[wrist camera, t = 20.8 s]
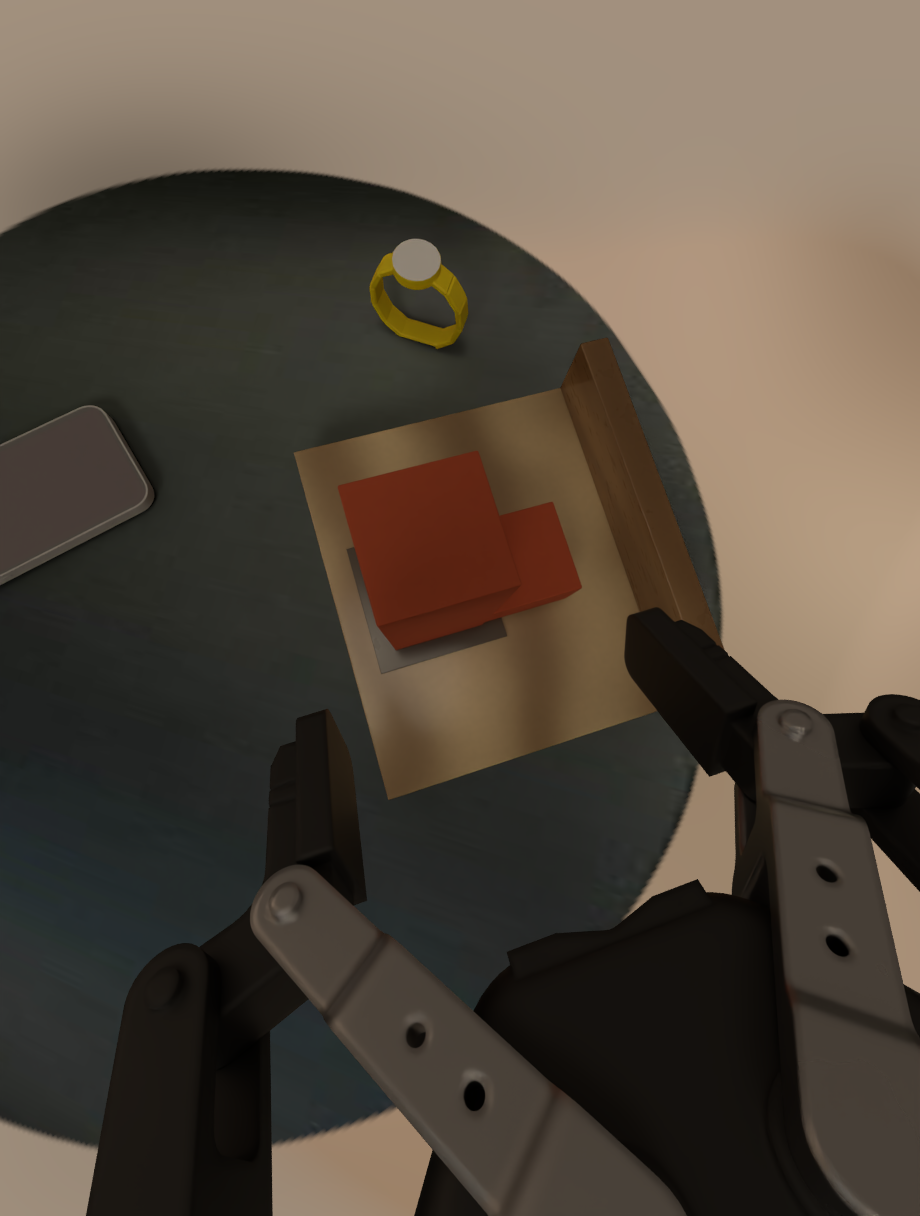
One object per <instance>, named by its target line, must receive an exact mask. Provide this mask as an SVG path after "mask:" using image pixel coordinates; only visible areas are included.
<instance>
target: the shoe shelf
mask: <svg viewBox="0 0 920 1216" xmlns="http://www.w3.org/2000/svg"><path fill="white" fill-rule="evenodd" d="M473 451H478V452H479V454H480V457H481V460H482V464H483V467H484V470H485V473H486V476H487V479H488V482H489V485H490V488H491V491H492V494H493V497H494V500H495V503H496V507H497V510H498V513H499V516H500V515H504V514H508V513H511V512H515V511H519V510H522V509H526V508H530V507H533V506H537V505H541V504H545V503H548V502H553V503H554V506H555V509H556V512H557V515H558V518H559V521H560V523H561V526H562V529H563V532H564V535H565V538H566V541H567V544H568V547H569V550H570V553H571V556H572V559H573V562H574V564H575V567H576V570H577V573H578V576H579V579H580V582H581V585H582V588H581V589H580V590H578V591H577V592H575V593H573V594H572V595H570V596H568V597H567V598H565V599H561V600H558V601H555V602H551V603H548V604H545V605H541V606H538V607H534V608H531V609H528V610H524V611H521V612H517V613H514V614H511V615H507V616H504V617H501V618H497V619H494V620H490V621H487V622H484V623H483V624H482V625H480V626H477V627H473V628H470V629H466V630H463V631H460V632H456V633H453V634H450V635H446V636H443V637H439V638H436V639H433V640H429V641H426V642H423V643H419V644H416V645H412V646H409V647H406V648H402V649H399V650H395V649H394V647H393V646H392V645H391V643H390V642H389V641H388V640H387V638H386V637H385V636H384V634H383V633H382V632H381V631H380V629H379V628H378V627H377V625H376V622H375V618H374V615H373V611H372V608H371V604H370V601H369V597H368V594H367V590H366V587H365V583H364V579H363V576H362V572H361V569H360V565H359V562H358V558H357V555H356V551H355V548H354V544H353V540H352V537H351V533H350V530H349V526H348V523H347V519H346V516H345V512H344V509H343V505H342V502H341V498H340V494H339V491H338V486H339V485H342V484H346V483H350V482H354V481H358V480H362V479H366V478H370V477H374V476H378V475H382V474H386V473H390V472H394V471H397V470H401V469H405V468H409V467H413V466H417V465H421V464H425V463H429V462H433V461H437V460H441V459H445V458H449V457H453V456H457V455H461V454H465V453H469V452H473ZM294 455H295V459H296V462H297V466H298V470H299V473H300V477H301V481H302V484H303V488H304V492H305V495H306V499H307V503H308V506H309V510H310V514H311V517H312V521H313V525H314V528H315V532H316V536H317V539H318V543H319V547H320V550H321V554H322V558H323V561H324V565H325V569H326V572H327V576H328V580H329V583H330V587H331V591H332V594H333V598H334V602H335V605H336V609H337V613H338V616H339V620H340V624H341V627H342V631H343V635H344V638H345V642H346V646H347V649H348V653H349V657H350V660H351V664H352V668H353V671H354V675H355V679H356V682H357V686H358V690H359V693H360V697H361V701H362V704H363V708H364V712H365V715H366V719H367V723H368V726H369V730H370V734H371V737H372V741H373V745H374V748H375V752H376V756H377V759H378V763H379V767H380V770H381V774H382V778H383V781H384V785H385V789H386V792H387V796H388V799H389V800H390V799H393V798H396V797H399V796H402V795H405V794H408V793H411V792H414V791H417V790H420V789H423V788H426V787H429V786H432V785H436V784H439V783H442V782H445V781H448V780H451V779H454V778H457V777H460V776H463V775H466V774H469V773H472V772H475V771H478V770H481V769H484V768H487V767H490V766H493V765H496V764H499V763H502V762H505V761H508V760H511V759H514V758H517V757H520V756H523V755H526V754H529V753H532V752H535V751H538V750H541V749H544V748H547V747H550V746H553V745H556V744H559V743H562V742H565V741H568V740H571V739H574V738H577V737H580V736H583V735H586V734H589V733H592V732H595V731H598V730H601V729H605V728H608V727H611V726H614V725H617V724H620V723H623V722H626V721H629V720H632V719H635V718H638V717H641V716H644V715H647V714H650V713H653V712H656V711H657V710H656V708H655V707H654V706H653V705H652V703H651V702H650V701H649V700H648V698H647V697H646V696H645V695H644V693H643V692H642V691H641V689H640V688H639V687H638V686H637V684H636V683H635V682H634V681H633V679H632V678H631V676H630V675H629V673H628V671H627V668H626V665H625V660H624V650H625V636H626V621H627V617H628V616H629V615H631V614H634V613H638V612H641V611H644V610H647V609H651V608H654V607H658V608H660V609H662V610H663V611H664V612H665V613H666V614H667V615H668V616H669V617H670V618H671V619H672V620H673V621H674V622H676V621H679V620H683V621H686V622H688V623H690V624H692V625H694V626H696V627H698V628H700V629H702V630H703V631H704V632H705V633H706V634H707V635H708V636H709V637H711V638H712V639H713V640H714V641H715V642H716V645H717V646H718V645H719V646H720V647H721V648H722V649H724V647H723V645H722V642H721V639H720V637H719V634H718V631H717V629H716V626H715V623H714V621H713V618H712V615H711V613H710V610H709V607H708V605H707V602H706V599H705V597H704V594H703V591H702V589H701V586H700V583H699V580H698V578H697V575H696V572H695V570H694V567H693V564H692V562H691V559H690V556H689V554H688V551H687V548H686V546H685V543H684V540H683V538H682V535H681V532H680V530H679V527H678V524H677V522H676V519H675V516H674V513H673V511H672V508H671V505H670V503H669V500H668V497H667V495H666V492H665V489H664V487H663V484H662V481H661V479H660V476H659V473H658V471H657V468H656V465H655V463H654V460H653V457H652V455H651V452H650V449H649V447H648V444H647V441H646V438H645V436H644V433H643V430H642V428H641V425H640V422H639V420H638V417H637V414H636V412H635V409H634V406H633V404H632V401H631V398H630V396H629V393H628V390H627V388H626V385H625V382H624V380H623V377H622V374H621V372H620V369H619V366H618V363H617V361H616V358H615V355H614V353H613V350H612V347H611V345H610V342H609V339H608V338H603V339H599V340H594V341H590V342H586V343H582V344H581V345H580V347H579V349H578V351H577V353H576V355H575V358H574V360H573V362H572V364H571V366H570V368H569V370H568V373H567V375H566V377H565V379H564V381H563V383H562V386H561V388H558V389H554V390H550V391H546V392H542V393H538V394H534V395H529V396H525V397H521V398H517V399H513V400H509V401H505V402H501V403H496V404H492V405H488V406H484V407H480V408H476V409H472V410H467V411H463V412H459V413H455V414H451V415H447V416H443V417H438V418H434V419H430V420H426V421H422V422H418V423H414V424H410V425H405V426H401V427H397V428H393V429H389V430H385V431H381V432H376V433H372V434H368V435H364V436H360V437H356V438H352V439H348V440H343V441H339V442H335V443H331V444H327V445H323V446H319V447H314V448H310V449H306V450H302V451H298V452H294Z"/></svg>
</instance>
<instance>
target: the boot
mask: <svg viewBox="0 0 920 1216" xmlns="http://www.w3.org/2000/svg"><path fill="white" fill-rule="evenodd" d="M338 491H339V494H340V498H341V502H342V505H343V509H344V512H345V516H346V519H347V523H348V526H349V530H350V533H351V537H352V540H353V544H354V548H355V551H356V555H357V558H358V562H359V565H360V569H361V572H362V576H363V579H364V583H365V587H366V590H367V594H368V597H369V601H370V604H371V608H372V611H373V615H374V618H375V622H376V625H377V627H378V628H379V629H380V631H381V632H382V633H383V634H384V636H385V637H386V638H387V640H388V641H389V642H390V643H391V645H392V646H393V647H394V649H395V650H399V649H402V648H406V647H409V646H412V645H416V644H419V643H423V642H426V641H429V640H433V639H436V638H439V637H443V636H446V635H450V634H453V633H456V632H460V631H463V630H466V629H470V628H473V627H477V626H480V625H482V624H483V623H484V622H487V621H490V620H494V619H497V618H501V617H504V616H507V615H511V614H514V613H517V612H521V611H524V610H528V609H531V608H534V607H538V606H541V605H545V604H548V603H551V602H555V601H558V600H561V599H565V598H567V597H568V596H570V595H572V594H573V593H575V592H577V591H578V590H580V589H581V588H582V585H581V582H580V579H579V576H578V573H577V570H576V567H575V564H574V562H573V559H572V556H571V553H570V550H569V547H568V544H567V541H566V538H565V535H564V532H563V529H562V526H561V523H560V521H559V518H558V515H557V512H556V509H555V506H554V503H553V502H548V503H545V504H541V505H537V506H533V507H530V508H526V509H522V510H519V511H515V512H511V513H508V514H504V515H500V516H499V513H498V510H497V507H496V503H495V500H494V497H493V494H492V491H491V488H490V485H489V482H488V479H487V476H486V473H485V470H484V467H483V464H482V460H481V457H480V454H479V452H478V451H473V452H469V453H465V454H461V455H457V456H453V457H449V458H445V459H441V460H437V461H433V462H429V463H425V464H421V465H417V466H413V467H409V468H405V469H401V470H397V471H394V472H390V473H386V474H382V475H378V476H374V477H370V478H366V479H362V480H358V481H354V482H350V483H346V484H342V485H339V486H338Z"/></svg>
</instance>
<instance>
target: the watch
mask: <svg viewBox="0 0 920 1216" xmlns="http://www.w3.org/2000/svg"><path fill="white" fill-rule="evenodd" d="M389 275H394V276H395V278H396V280H397V281H398V282H399V283H400V284H401V285H402V286H404V287H406V288H408V289H413V290H421V289H426V288H428V287H430V286H432V287H434V288H435V289H436V290H437V291H439V292H440V293H441V294H442V295H444V296H445V298H446V300H447V301H448V303H449V304H450V306H451V308H452V309H453V311H454V312H455V320H456V324H454V325H452V326H449V327H446V328H444V329H443V328H439V327H436V326H433V325H429V324H426V323H423V322H419V321H416V320H412V319H409V318H407V317H406V316H405V315H404V314H403V313H402V312H400V311H399V310H398V309H397V308H396V307H395V306H394V305H393V304H392V302H391V301H390V299H389V297H388V295H387V294H386V292H385V290H384V287H383V277H385V276H389ZM369 288H370V295H371V303H372V304H373V307H374V309H375V310H376V312H377V313H378V315H379V316H380V318H381V320H382V321H383V322H384V324H385V325H387V326H388V327H389V328H390V329H391V330H392V331H394V332H395V333H396V334H397V335H398V336H401V337H404V338H408V339H411V340H414V341H418V342H421V343H424V344H428V345H431V346H434V347H436V349H438V348H442V347H445V346H448V345H451V344H453V343H455V341H456V340H457V338H458V337H459V335H460V334H461V332H462V329H463V327H464V324H465V322H466V319H467V316H468V304H467V297H466V294H465V292H464V290H463V289H462V287H461V285H460V283H459V282H458V280H457V278H456V277H455V276H454V275H453V273H451V272H450V271H449V270H448V269H447V268H445V267H444V266H443V265H442V264H441V257H440V254H439V252H438V250H437V248H436V247H435V246H433V245H432V244H431V243H429V242H427V241H425V240H421V239H409V240H407V241H404V242H402V243H401V244H399V245H398V246H397V247H396V248H395V250H394V252H393V253H390V254H387V255H386V256H384V257H383V259H382V261H381V262H380V264H379V266H378V267H377V269H376V272H375V274H374V276H373V279H372V281H371V283H370V287H369Z"/></svg>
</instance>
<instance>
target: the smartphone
mask: <svg viewBox="0 0 920 1216" xmlns="http://www.w3.org/2000/svg"><path fill="white" fill-rule="evenodd" d="M153 500H154V490H153V488H152V486H151V484H150V482H149V481H148V479H147V477H146V475H145V474H144V472H143V470H142V468H141V467H140V465H139V463H138V462H137V460H136V458H135V456H134V455H133V453H132V451H131V450H130V448H129V446H128V444H127V443H126V441H125V439H124V438H123V436H122V434H121V432H120V431H119V429H118V427H117V425H116V424H115V422H114V421H113V419H112V418H111V417H110V416H109V415H108V414H107V413H105V412H104V411H103V410H102V409H101V408H99V407H96V406H91V405H89V406H83V407H80V408H78V409H75V410H73V411H71V412H69V413H67V414H65V415H63V416H61V417H58V418H56V419H54V420H52V421H50V422H48V423H46V424H43V425H41V426H39V427H37V428H35V429H33V430H31V431H29V432H26V433H24V434H22V435H20V436H18V437H16V438H14V439H11V440H9V441H7V442H5V443H3V444H1V445H0V585H2V584H3V583H5V582H7V581H9V580H11V579H13V578H15V577H17V576H19V575H21V574H23V573H25V572H27V571H29V570H31V569H33V568H35V567H37V566H38V565H40V564H42V563H44V562H46V561H48V560H50V559H52V558H54V557H56V556H58V555H60V554H62V553H64V552H66V551H68V550H70V549H72V548H73V547H75V546H77V545H79V544H81V543H83V542H85V541H87V540H89V539H91V538H93V537H95V536H97V535H99V534H101V533H103V532H105V531H107V530H108V529H110V528H112V527H114V526H116V525H118V524H120V523H122V522H124V521H126V520H128V519H130V518H132V517H134V516H136V515H138V514H140V513H141V512H143V511H145V510H146V509H148V508H149V507H150V506H151V504H152V503H153Z"/></svg>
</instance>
